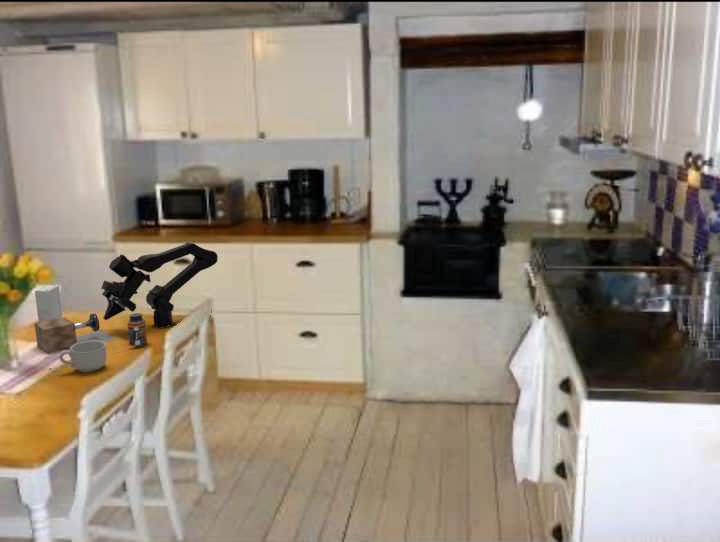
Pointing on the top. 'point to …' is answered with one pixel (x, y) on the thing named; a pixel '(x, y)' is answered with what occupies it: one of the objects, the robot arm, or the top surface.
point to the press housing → (55, 335)
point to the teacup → (86, 355)
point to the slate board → (88, 337)
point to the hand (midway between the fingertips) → (104, 319)
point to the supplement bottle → (137, 330)
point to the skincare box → (48, 303)
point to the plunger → (89, 323)
